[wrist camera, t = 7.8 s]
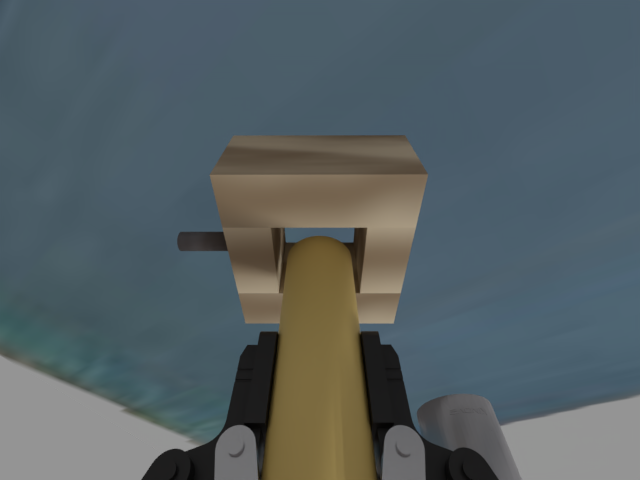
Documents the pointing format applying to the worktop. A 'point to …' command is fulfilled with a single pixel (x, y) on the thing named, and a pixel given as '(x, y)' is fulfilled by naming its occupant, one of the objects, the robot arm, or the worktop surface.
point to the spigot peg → (319, 372)
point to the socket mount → (315, 213)
